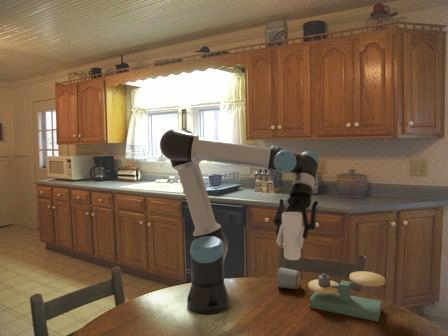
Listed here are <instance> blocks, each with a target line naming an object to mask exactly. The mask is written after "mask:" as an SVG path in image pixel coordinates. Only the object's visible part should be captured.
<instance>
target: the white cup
mask: <svg viewBox="0 0 448 336" xmlns="http://www.w3.org/2000/svg"><path fill="white" fill-rule="evenodd" d="M303 225H304V220H303V215H302V212H299V211H294V212H286V211H284V212H283V213H282V234H283V238H282V241H283V243H282V244H283V256H284V259H285V260H288V261H298V260H300V259H301V253H302V252H301V248H299V245H298V242H299V237H300V233H301V229H302V227H304V226H303Z"/></svg>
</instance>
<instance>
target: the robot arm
mask: <svg viewBox="0 0 448 336" xmlns="http://www.w3.org/2000/svg"><path fill="white" fill-rule="evenodd" d="M159 148H160V151H161V153H162V155H164V157H165V158H166V159H168V160H170V164H171V167H172V168H173V169H174V170H176V171H177V173H178V176H179V180H180V183H181V186H182V189H183V193H184V197H185V200H186V202H187V207H188V209H189V213H190V217H191V219H192V223H193V226H194V231H193V233H192V237H193V239H194V240H193V241H192V242H191V244H190V250H189V252H190V274H191V275H190V276H191V286H190V289H189V292H188V295H187V298H186V300H187V301H186V303H187V309H188V310H189V311H190V312H193V313H194V314H198V315H214V314H218V313H222V312H224V311H226V310H227V309H228V308H229V307H230V295H229V294H228V290H227V286H226V285H225V284H226V283H225V266H224V265H225V260H226V256H227V254H228V252H229V251H228V250H229V242H228V238H227V236H226V235H225V233H224V231H223V228H222V225H221V224H220V223H218V222H217V221H216V218H215V214H214V212H213V208H212V205H211V201H210V197H209V193H208V191H207V187H206V184H205V181H204V178H203V173H202V171H201V167H200V163H201V161H207V162H213V163H220V164H221V163H222V164H227V165H228V164H229V165H235V166H241V167H249V168H254V169H256V168H257V169H262V170H268V171H275V172H279V173H282V174H287V173H290V174H294V177H293V178H294V179H293V181H292V186H291V189H290V193H289V197H288V198H287V199H284V200H283V198H281V199H279V205H278V207H277V210H276V213H275V215H274V218H273V223H274V226H275V227H277V228H276V231H275V233H276V236H277V238H276V240H275V242H276V244H277V246H279V247H281V245H282V241H283V234H282V213H285V212H299V213H301V214H302V219H303V225H304V226H302V229H301V233H300V237H299V242H298V245H299V248H301V249H303V247H304V242H305V239H306V240H307V239H308V236H309V232H310V230H315V229H316V223H317V213H318V210H319V207H320V206H319V205H320V204H319V202H318V201H317V200H314V201H313V200H312V198H313V197H312V196H313V192H314V187H315V183H316V178H317V173H318V170H319V167H320V166H319V163H320V158H319V156H318V154H317V153H315V152H313V151H304V152H301V153H300V154H299V153H295V152H293V151H291V150H289V149H285V148H282V147H280V146H276V145H272V146H270V147H266V146H259V145H253V144H252V145H251V144H245V143H238V142H230V141H224V140H217V139H210V138H203V137H200V136H199V135H198V134H195V133H193V132H191V131H189V130H188V129H182V128H181V129H180V128H173V129H168V130H167V131H165V132H164V133H163V135H162V136H161V138H160V142H159ZM287 205H288V206H287ZM285 207H287V209H286V210H285ZM309 207H311V213H310V223H309V220H308V219H309V217H308V213H307V212H308V211H307V209H308V208H309Z"/></svg>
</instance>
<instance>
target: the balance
mask: <svg viewBox="0 0 448 336" xmlns="http://www.w3.org/2000/svg"><path fill="white" fill-rule="evenodd" d="M349 280H350V281H348V280H342V279H341V280H340V283H338V282H336V281H334V280H331V276H330V275H328V274H327V273H325V272H324V273H322V274H320V275H318V278H317V279H312V280H310V281H309V282H308V285H307V286H308V289H309V290H310V291H312V292H313V293H312V295H311V297H309V308H312V309H315V310H322V311H326V312H331V313H334V314H340V315H343V316H350V317H355V318H360V319H365V320H369V321H374V322H375V321H376V322H379V321H380V315H381V311H382V300H378V299H372V298H366V297H361V296H356V295H351V291H352V289H351V288H356V287H362V286H364V287H380V286H384V284H386V278H385V277H384V276H383V275H381V274H379V273H375V272H373V271H365V270H362V271H361V270H360V271H353V272H350V274H349Z"/></svg>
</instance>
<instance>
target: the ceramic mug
mask: <svg viewBox="0 0 448 336" xmlns="http://www.w3.org/2000/svg"><path fill="white" fill-rule="evenodd" d="M300 285H301V272H300V271H298V270H295V269H290V268H286V267H279V268H278V271H277V278H276V286H277V287H278V288H280V289H281V288H282V289H288V290H298V289H299V287H300Z"/></svg>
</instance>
